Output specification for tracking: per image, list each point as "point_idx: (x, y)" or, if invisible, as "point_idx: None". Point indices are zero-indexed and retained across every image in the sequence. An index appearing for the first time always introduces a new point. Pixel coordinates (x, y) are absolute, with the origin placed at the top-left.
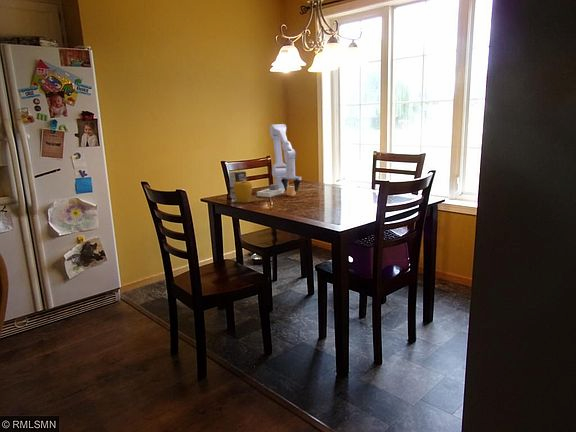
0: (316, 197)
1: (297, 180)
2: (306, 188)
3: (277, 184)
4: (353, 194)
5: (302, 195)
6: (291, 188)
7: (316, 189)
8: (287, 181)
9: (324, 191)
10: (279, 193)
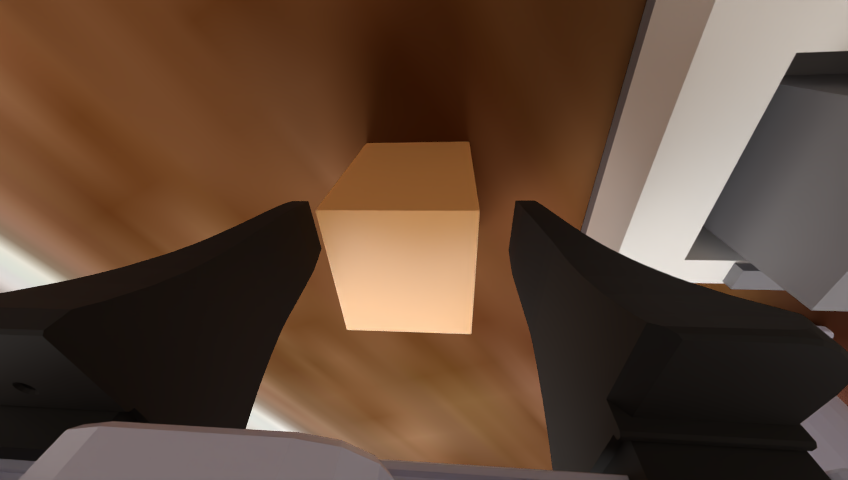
0: (10, 179)
1: (10, 400)
2: (473, 455)
3: (842, 308)
4: None
5: None
6: (337, 196)
7: (376, 445)
8: (553, 417)
9: (264, 412)
10: (626, 117)
